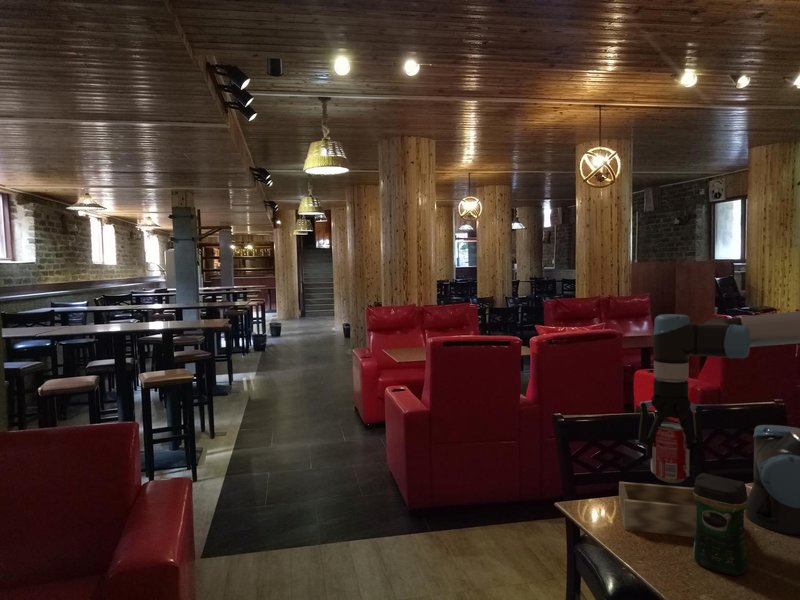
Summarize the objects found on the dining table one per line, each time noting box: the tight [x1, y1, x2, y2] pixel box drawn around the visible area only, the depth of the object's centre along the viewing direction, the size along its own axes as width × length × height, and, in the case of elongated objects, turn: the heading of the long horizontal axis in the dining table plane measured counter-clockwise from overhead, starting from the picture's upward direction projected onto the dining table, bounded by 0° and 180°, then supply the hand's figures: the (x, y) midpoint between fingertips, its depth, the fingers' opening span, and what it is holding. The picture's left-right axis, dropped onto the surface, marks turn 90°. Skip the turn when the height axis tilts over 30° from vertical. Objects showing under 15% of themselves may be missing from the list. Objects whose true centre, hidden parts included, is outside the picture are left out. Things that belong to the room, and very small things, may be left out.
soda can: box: [653, 421, 687, 484], centre depth 129 cm, size 7×7×13 cm
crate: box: [618, 481, 697, 538], centre depth 129 cm, size 22×12×7 cm, turn 73°
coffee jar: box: [692, 472, 749, 576], centre depth 111 cm, size 10×8×19 cm
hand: (669, 472), depth 129 cm, fingers closed on soda can, 6 cm apart
